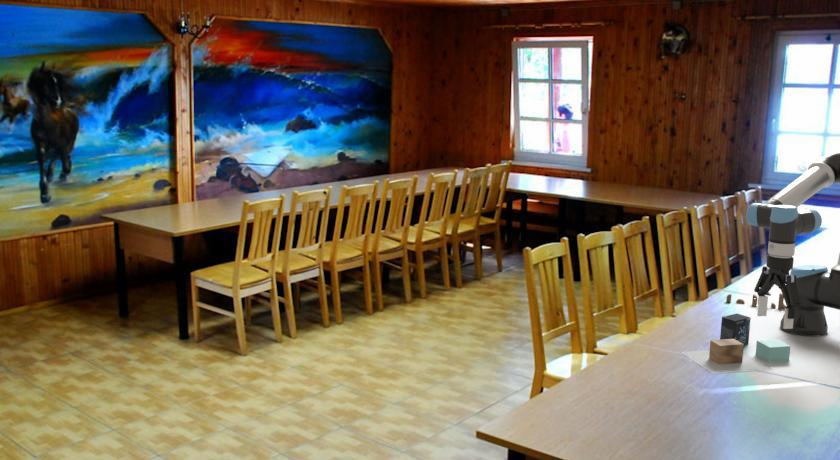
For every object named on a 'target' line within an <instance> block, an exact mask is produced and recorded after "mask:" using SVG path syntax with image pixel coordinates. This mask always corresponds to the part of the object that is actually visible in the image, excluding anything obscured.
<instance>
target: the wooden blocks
mask: <svg viewBox="0 0 840 460" xmlns="http://www.w3.org/2000/svg"><path fill="white" fill-rule="evenodd" d="M778 295H779V297H778V307H777V310H781V309H784V311H785V307H786V306H787V305H785V304H784V303H785V300H784V297H783V294H782V292H781V293H779V294H778ZM766 296H768V297H769V296H772V294H771V292H770V291H769V292H768V294H767V295H766ZM725 302H726V303H732V294H731V293H729V294H727V295H726V301H725ZM735 303H736V304H741V305H745V304H746V302H745V301H744V299H743V298H738V299H736V301H735ZM756 305H757V306H758V295H756V294H752V303H751V306H752V307H757V306H756ZM770 308H774V309H775V308H776V303H774V302H771V304H770Z"/></svg>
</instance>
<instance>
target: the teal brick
mask: <svg viewBox="0 0 840 460" xmlns="http://www.w3.org/2000/svg"><path fill="white" fill-rule="evenodd" d="M790 353H791V345H789V344H787V343H785V342H783V341H781V340H779V339H777V338H775V339H773V338H771V339H758V340H756V347H755V356H758V357H760V358H761V359H763V360H765V361H766V362H768V363H772V362H775V363H776V362H786V361H787V362H788V361H790V355H791V354H790Z"/></svg>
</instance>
